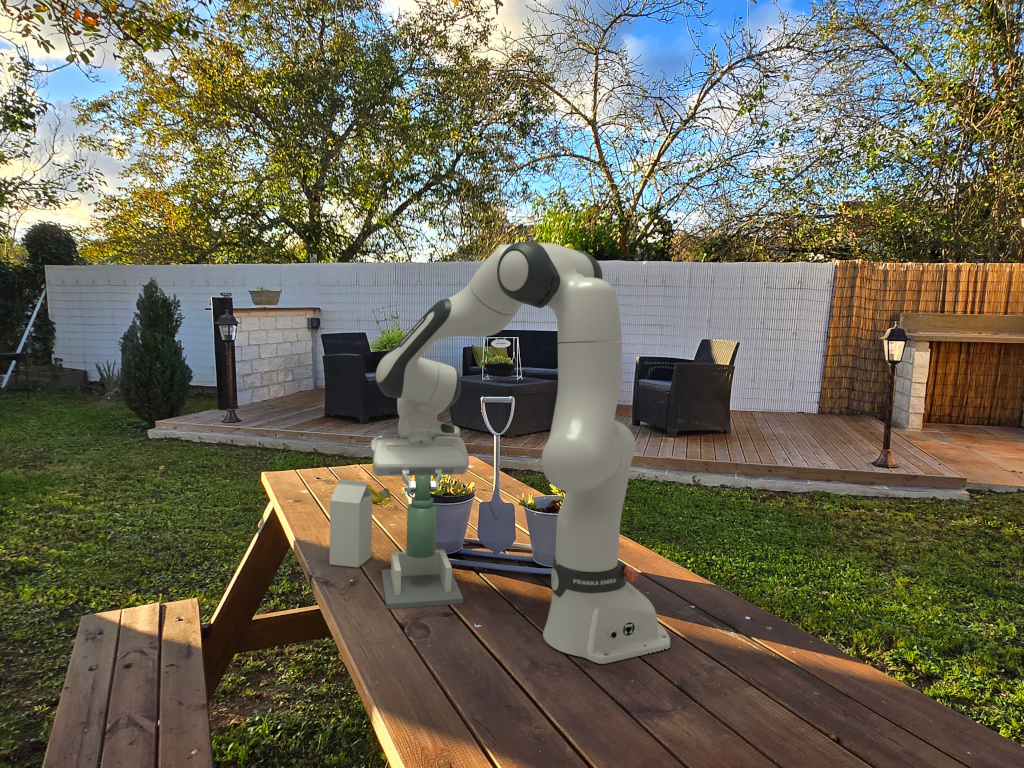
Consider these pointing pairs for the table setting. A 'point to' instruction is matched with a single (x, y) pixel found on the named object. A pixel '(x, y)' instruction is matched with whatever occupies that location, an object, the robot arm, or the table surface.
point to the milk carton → (350, 524)
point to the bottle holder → (420, 581)
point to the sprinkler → (380, 496)
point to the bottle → (421, 520)
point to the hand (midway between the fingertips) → (423, 490)
